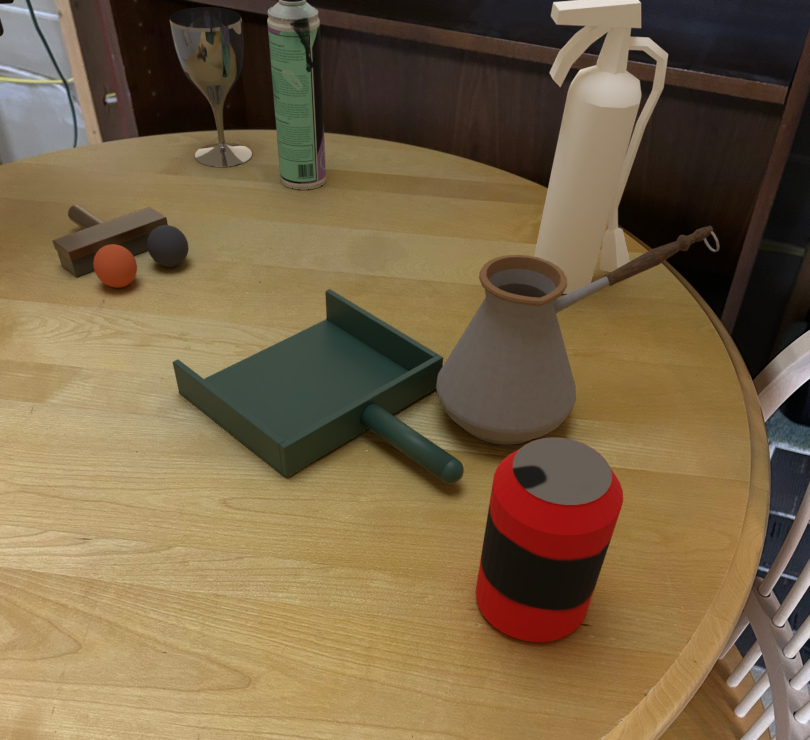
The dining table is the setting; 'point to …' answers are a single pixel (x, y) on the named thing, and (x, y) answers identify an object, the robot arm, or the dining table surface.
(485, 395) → the coffee pot
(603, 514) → the soda can
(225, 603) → the dining table surface
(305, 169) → the spray can
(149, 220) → the brush
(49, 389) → the dining table surface
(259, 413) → the dustpan
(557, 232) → the fire extinguisher
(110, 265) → the terracotta ball
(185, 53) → the wine glass
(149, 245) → the grey ball
